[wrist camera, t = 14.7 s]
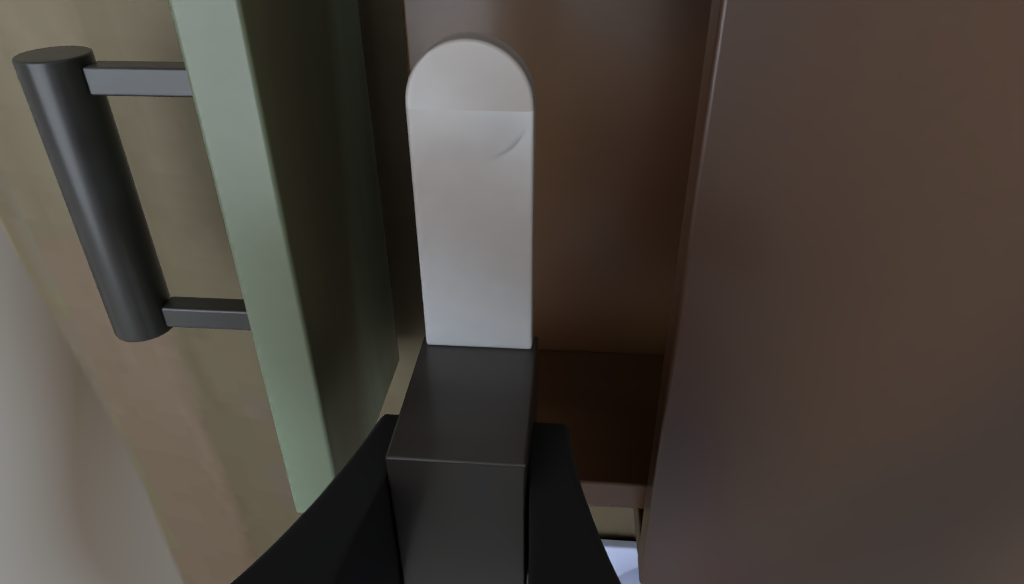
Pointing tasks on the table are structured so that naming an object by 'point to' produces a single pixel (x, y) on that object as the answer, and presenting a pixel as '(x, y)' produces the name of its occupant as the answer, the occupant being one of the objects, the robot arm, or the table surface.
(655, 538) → the cabinet
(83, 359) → the table surface
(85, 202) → the drawer
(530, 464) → the robot arm
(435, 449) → the grey sheathed bar
